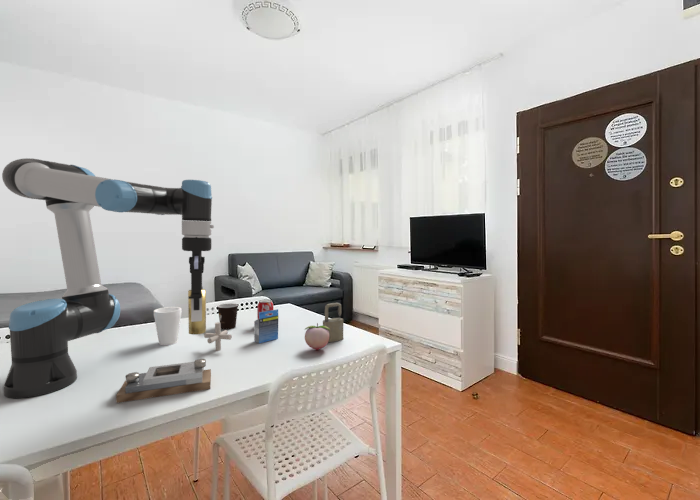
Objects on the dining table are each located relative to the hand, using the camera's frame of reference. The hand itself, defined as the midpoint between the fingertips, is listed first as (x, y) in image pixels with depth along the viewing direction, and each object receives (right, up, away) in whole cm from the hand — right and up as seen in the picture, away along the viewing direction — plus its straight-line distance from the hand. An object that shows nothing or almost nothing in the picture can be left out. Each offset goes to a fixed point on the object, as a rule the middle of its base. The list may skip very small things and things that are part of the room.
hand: (196, 318), depth 96 cm
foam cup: (-27, -17, +35) cm, 47 cm away
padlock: (+37, -17, +40) cm, 57 cm away
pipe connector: (-5, -17, +28) cm, 33 cm away
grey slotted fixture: (-7, -17, -2) cm, 19 cm away
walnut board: (-7, -19, -2) cm, 20 cm away
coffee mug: (-11, -16, +54) cm, 58 cm away
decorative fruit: (+32, -18, +28) cm, 46 cm away
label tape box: (+10, -17, +39) cm, 44 cm away
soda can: (+5, -16, +57) cm, 60 cm away
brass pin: (0, -4, 0) cm, 4 cm away
